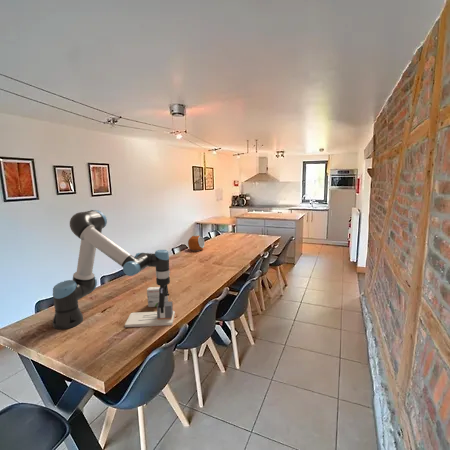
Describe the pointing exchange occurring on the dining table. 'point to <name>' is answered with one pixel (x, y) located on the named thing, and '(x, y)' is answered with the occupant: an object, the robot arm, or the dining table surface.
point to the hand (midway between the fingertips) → (164, 311)
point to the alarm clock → (196, 243)
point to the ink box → (153, 296)
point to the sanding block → (166, 310)
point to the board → (147, 319)
